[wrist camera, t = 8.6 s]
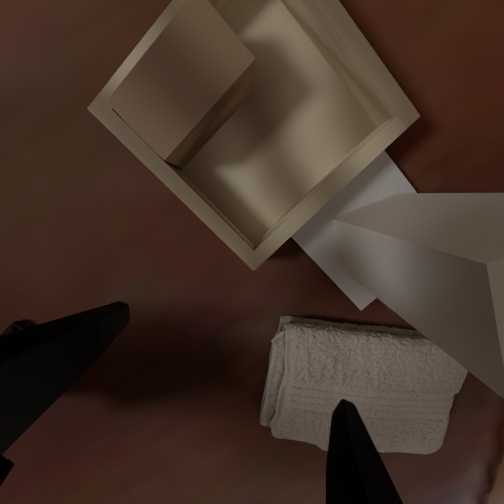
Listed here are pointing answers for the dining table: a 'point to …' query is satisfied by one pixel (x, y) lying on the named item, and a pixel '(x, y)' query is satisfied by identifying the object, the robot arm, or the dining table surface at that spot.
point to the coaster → (349, 198)
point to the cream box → (436, 270)
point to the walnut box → (186, 83)
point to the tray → (279, 122)
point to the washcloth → (359, 383)
